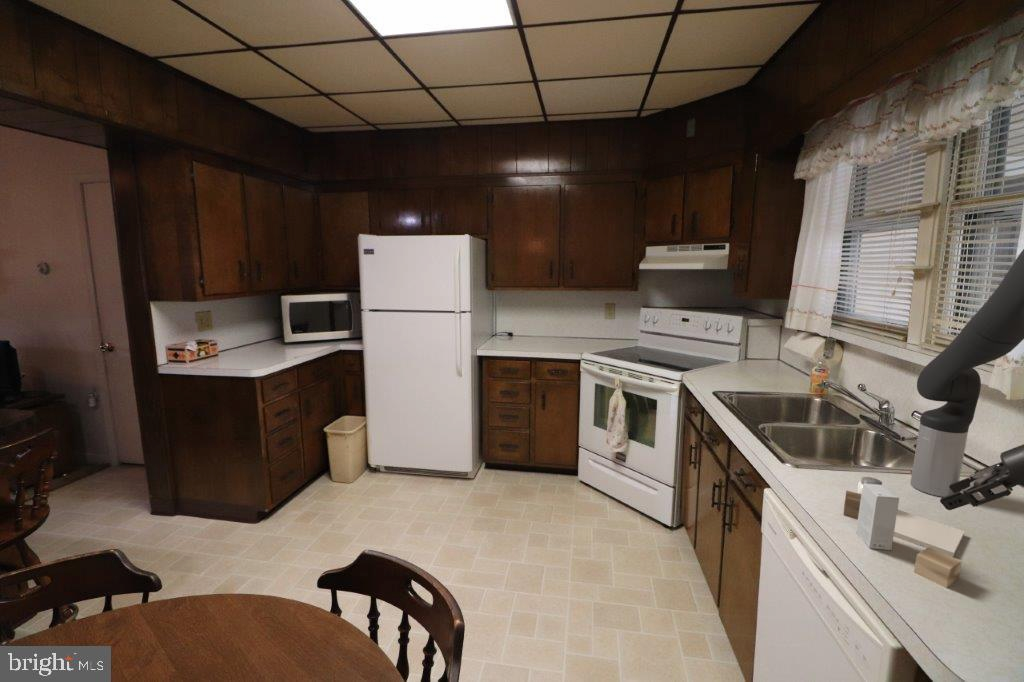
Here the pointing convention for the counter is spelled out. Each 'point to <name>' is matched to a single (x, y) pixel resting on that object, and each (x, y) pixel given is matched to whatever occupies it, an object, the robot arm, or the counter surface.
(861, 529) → the skincare box
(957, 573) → the oak block
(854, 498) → the walnut block
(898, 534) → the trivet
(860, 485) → the white jar
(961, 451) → the robot arm
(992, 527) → the counter surface
